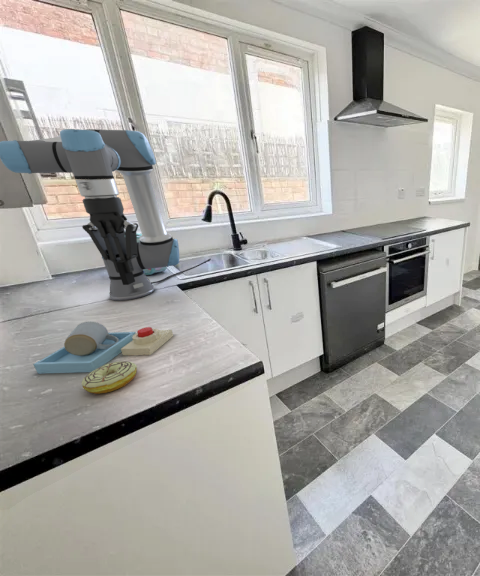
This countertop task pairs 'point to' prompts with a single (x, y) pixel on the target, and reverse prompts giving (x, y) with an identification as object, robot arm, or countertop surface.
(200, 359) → the countertop surface
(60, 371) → the shallow blue tray
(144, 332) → the button
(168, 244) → the robot arm
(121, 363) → the decorated donut
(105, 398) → the countertop surface
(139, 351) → the control block
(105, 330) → the ceramic mug
